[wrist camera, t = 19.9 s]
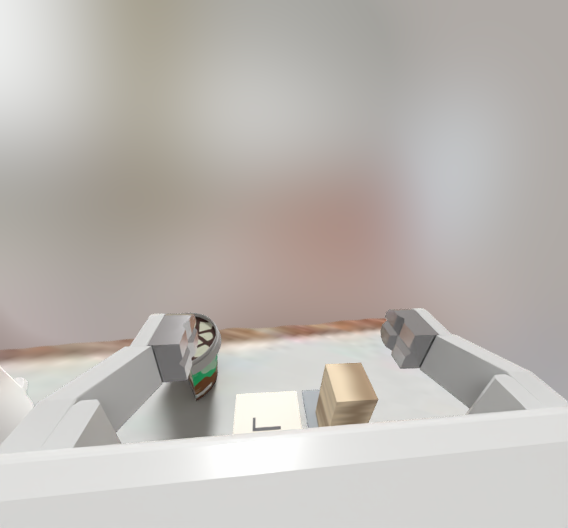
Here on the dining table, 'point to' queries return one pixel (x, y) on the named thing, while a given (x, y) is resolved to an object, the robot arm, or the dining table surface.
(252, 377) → the dining table surface
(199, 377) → the food container
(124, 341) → the dining table surface
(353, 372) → the birch block
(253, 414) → the board
